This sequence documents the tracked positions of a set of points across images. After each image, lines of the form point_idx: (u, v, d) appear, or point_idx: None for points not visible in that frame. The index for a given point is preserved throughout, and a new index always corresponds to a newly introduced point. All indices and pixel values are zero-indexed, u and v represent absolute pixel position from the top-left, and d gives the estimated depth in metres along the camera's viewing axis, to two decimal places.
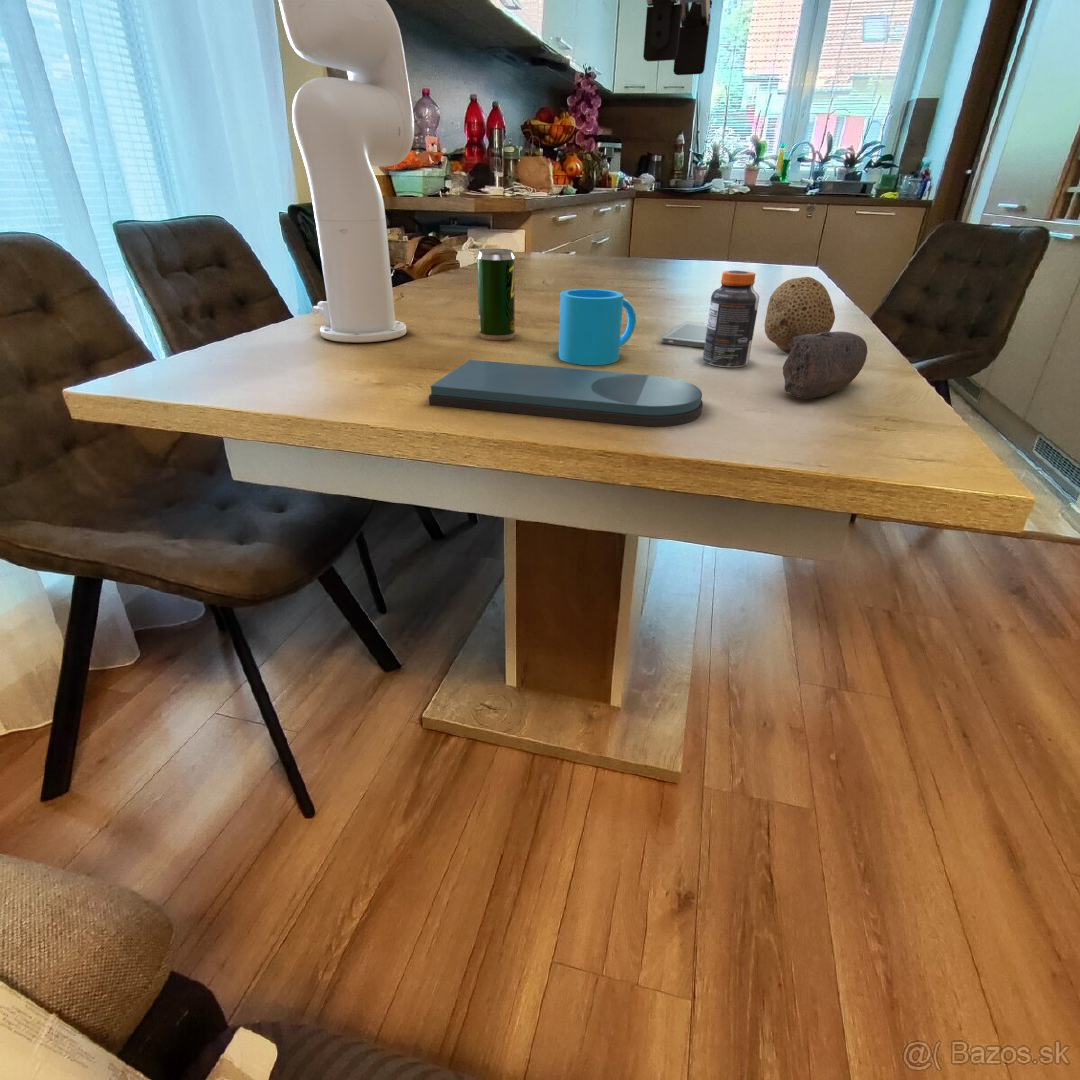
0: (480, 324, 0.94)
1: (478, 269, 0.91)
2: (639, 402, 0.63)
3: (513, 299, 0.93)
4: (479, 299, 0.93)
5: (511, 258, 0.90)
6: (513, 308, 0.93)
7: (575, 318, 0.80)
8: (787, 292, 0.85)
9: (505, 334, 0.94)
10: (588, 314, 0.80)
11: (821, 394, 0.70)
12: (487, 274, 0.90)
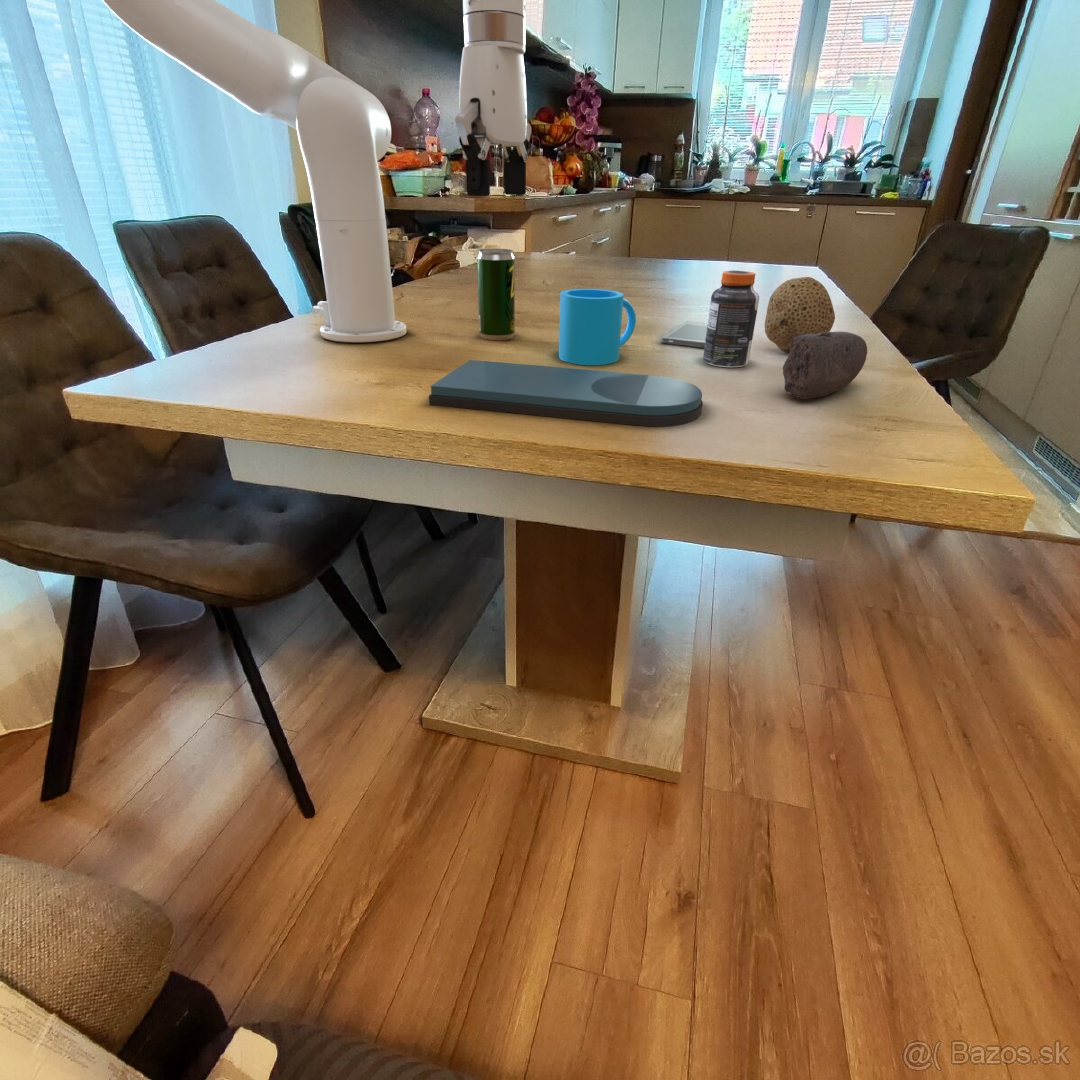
0: (480, 324, 0.94)
1: (478, 269, 0.91)
2: (639, 402, 0.63)
3: (513, 299, 0.93)
4: (479, 299, 0.93)
5: (511, 258, 0.90)
6: (513, 308, 0.93)
7: (575, 318, 0.80)
8: (787, 292, 0.85)
9: (505, 334, 0.94)
10: (588, 314, 0.80)
11: (821, 394, 0.70)
12: (487, 274, 0.90)
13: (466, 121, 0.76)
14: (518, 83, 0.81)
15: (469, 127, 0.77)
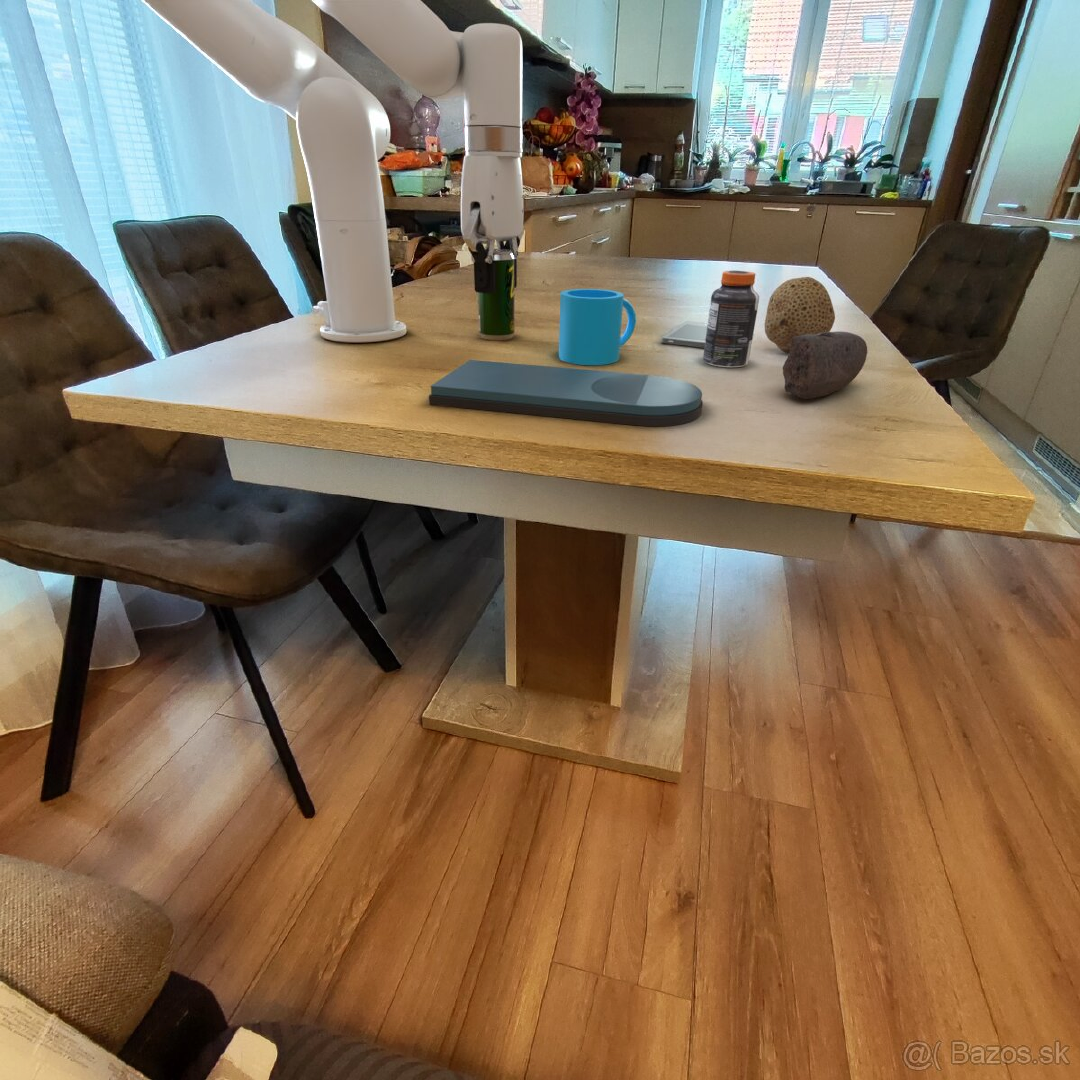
0: (480, 324, 0.94)
1: None
2: (639, 402, 0.63)
3: (513, 299, 0.93)
4: (479, 299, 0.93)
5: (511, 258, 0.90)
6: (513, 308, 0.93)
7: (575, 318, 0.80)
8: (787, 292, 0.85)
9: (505, 334, 0.94)
10: (588, 314, 0.80)
11: (821, 394, 0.70)
12: None
13: (473, 236, 0.84)
14: (515, 184, 0.87)
15: (476, 239, 0.85)
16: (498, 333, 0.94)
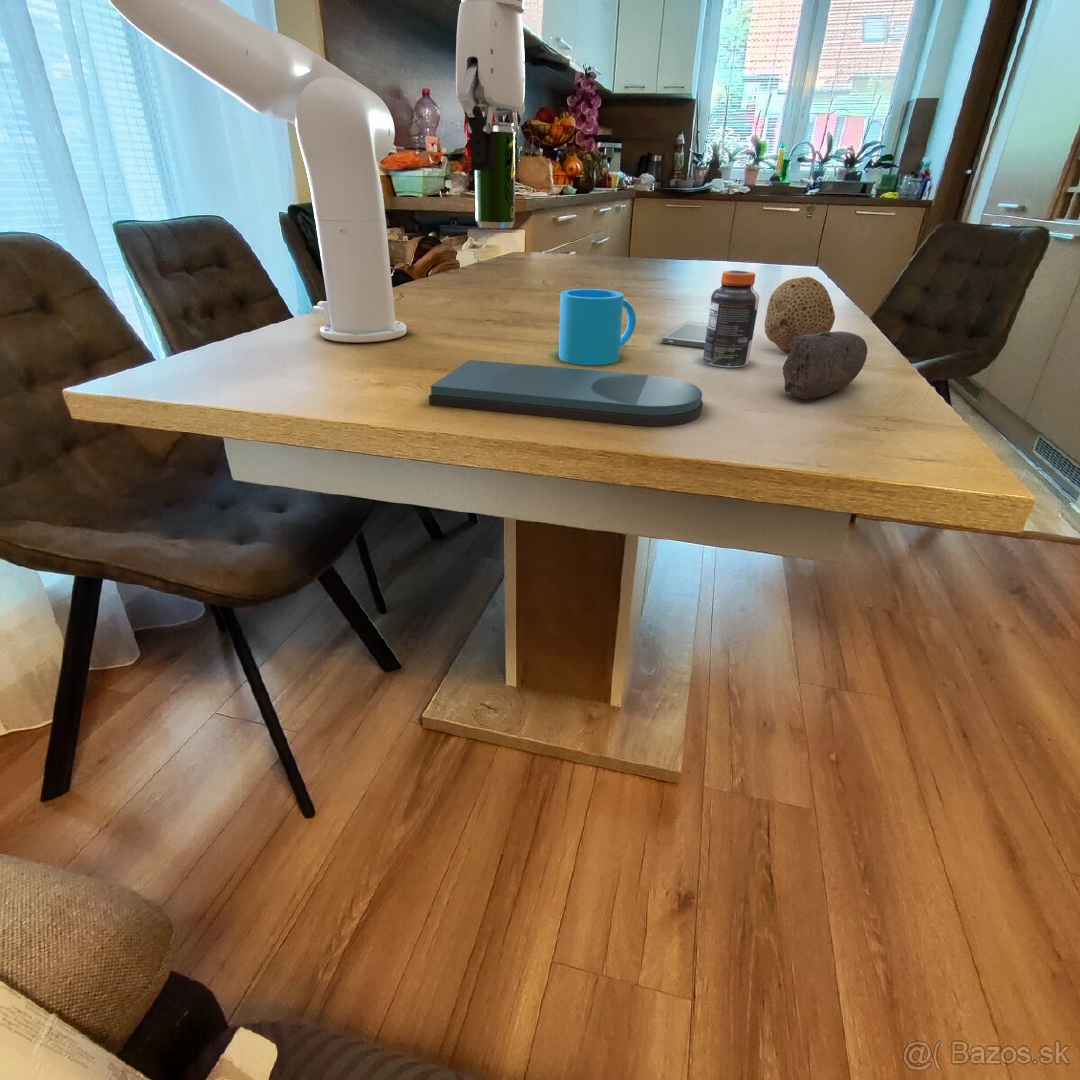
0: (477, 210, 0.86)
1: None
2: (639, 402, 0.63)
3: (513, 181, 0.84)
4: (476, 180, 0.84)
5: (511, 131, 0.81)
6: (513, 192, 0.85)
7: (575, 318, 0.80)
8: (787, 292, 0.85)
9: (504, 221, 0.85)
10: (588, 314, 0.80)
11: (821, 394, 0.70)
12: None
13: (470, 96, 0.75)
14: (516, 44, 0.78)
15: (473, 101, 0.76)
16: (497, 219, 0.85)
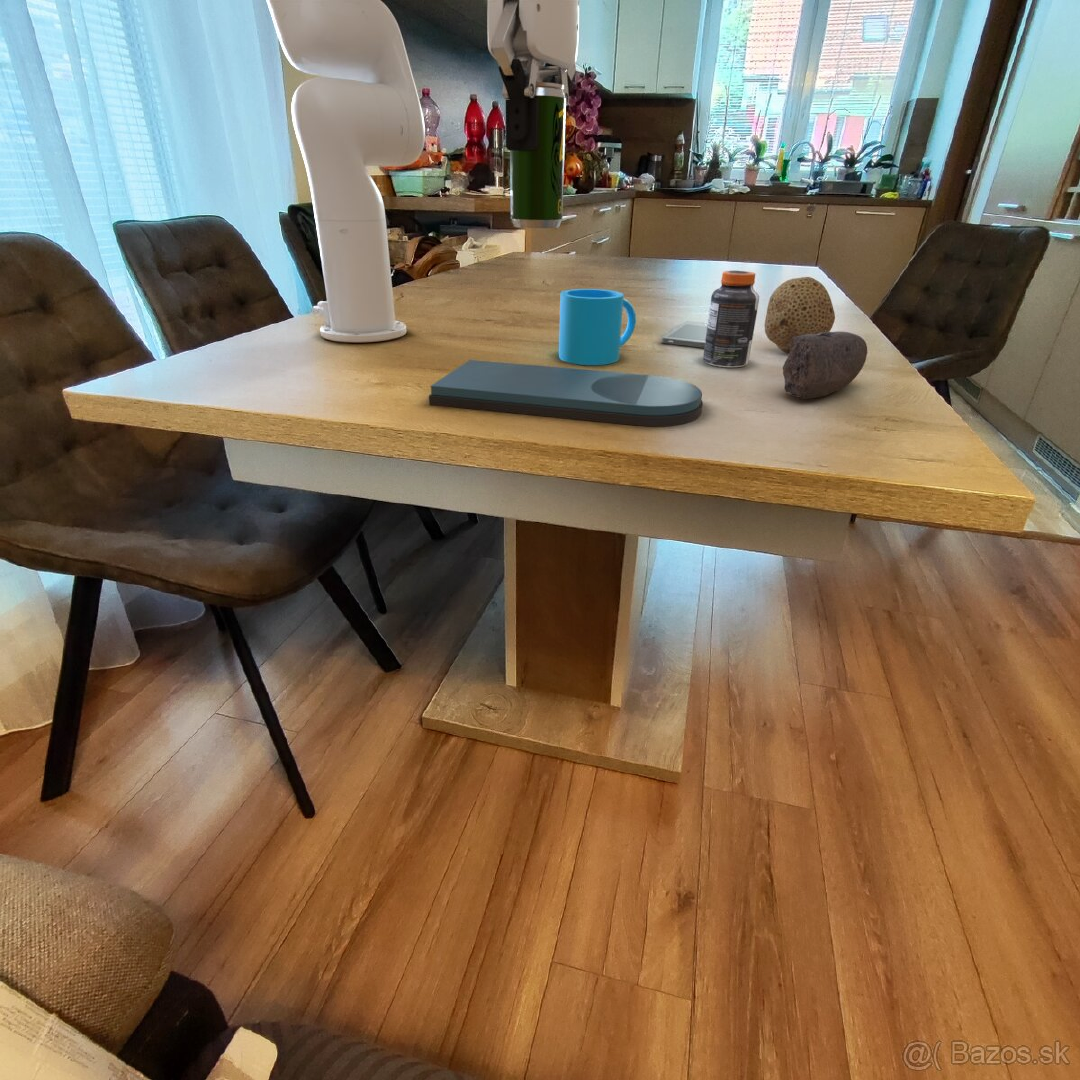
0: (513, 204, 0.64)
1: None
2: (639, 402, 0.63)
3: (562, 165, 0.63)
4: (512, 164, 0.62)
5: (562, 96, 0.60)
6: (562, 179, 0.63)
7: (575, 318, 0.80)
8: (787, 292, 0.85)
9: (550, 219, 0.64)
10: (588, 314, 0.80)
11: (821, 394, 0.70)
12: None
13: (507, 44, 0.54)
14: None
15: (512, 51, 0.54)
16: (540, 216, 0.63)
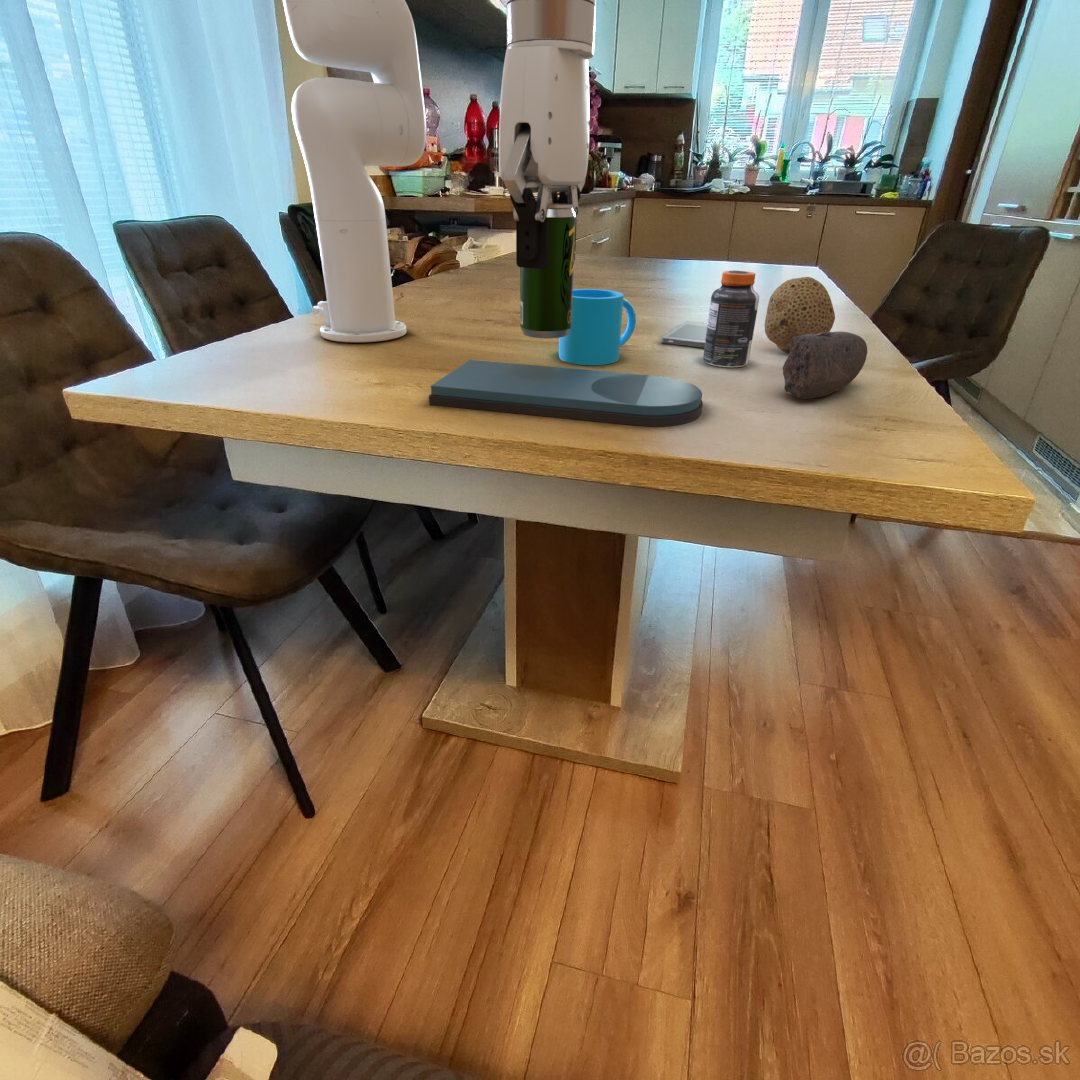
0: (522, 315, 0.64)
1: None
2: (639, 402, 0.63)
3: (572, 278, 0.63)
4: (522, 278, 0.63)
5: (572, 215, 0.60)
6: (571, 291, 0.64)
7: (575, 318, 0.80)
8: (787, 292, 0.85)
9: (559, 329, 0.64)
10: (588, 314, 0.80)
11: (821, 394, 0.70)
12: None
13: (519, 177, 0.54)
14: (581, 100, 0.57)
15: (523, 182, 0.55)
16: (550, 328, 0.64)
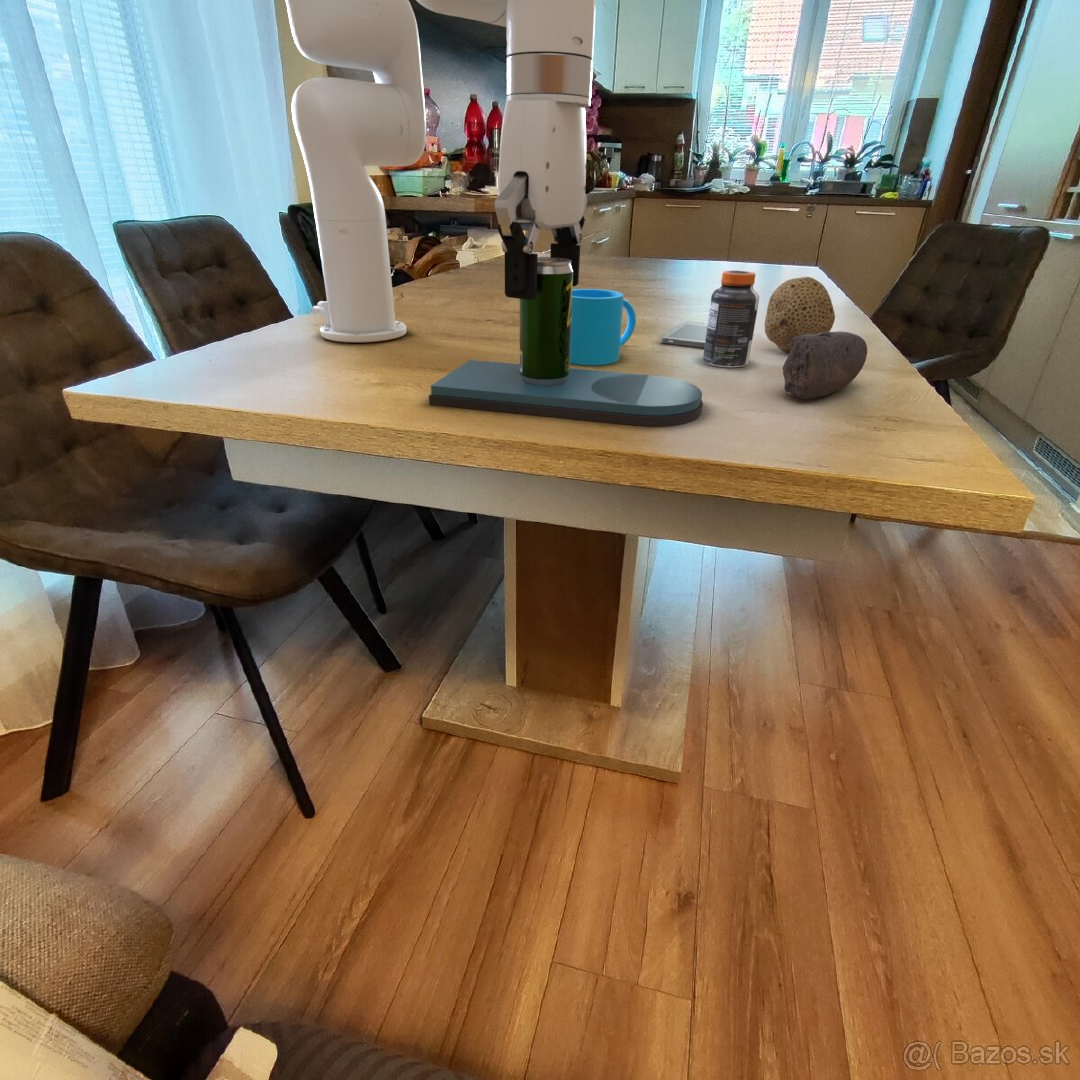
0: (522, 363, 0.67)
1: None
2: (639, 402, 0.63)
3: (569, 329, 0.66)
4: (521, 329, 0.65)
5: (569, 271, 0.62)
6: (569, 341, 0.66)
7: (575, 318, 0.80)
8: (787, 292, 0.85)
9: (557, 377, 0.67)
10: (588, 314, 0.80)
11: (821, 394, 0.70)
12: None
13: (510, 206, 0.54)
14: (578, 147, 0.59)
15: (513, 213, 0.55)
16: (548, 376, 0.66)
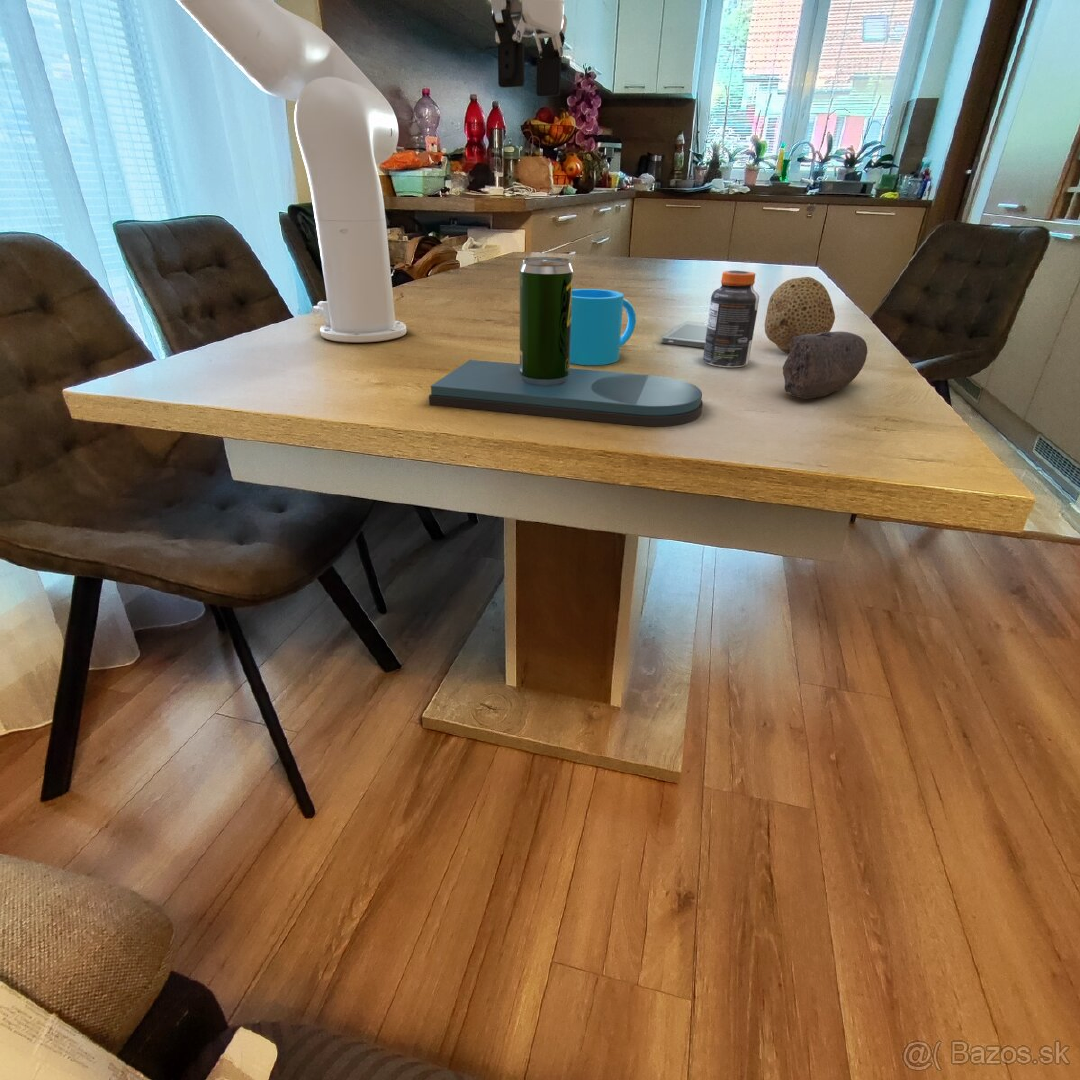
0: (522, 363, 0.67)
1: (521, 286, 0.63)
2: (639, 402, 0.63)
3: (569, 328, 0.66)
4: (521, 329, 0.65)
5: (569, 271, 0.62)
6: (569, 341, 0.66)
7: (575, 318, 0.80)
8: (787, 292, 0.85)
9: (557, 377, 0.67)
10: (588, 314, 0.80)
11: (821, 394, 0.70)
12: (535, 294, 0.62)
13: None
14: None
15: (504, 0, 0.69)
16: (548, 376, 0.66)
